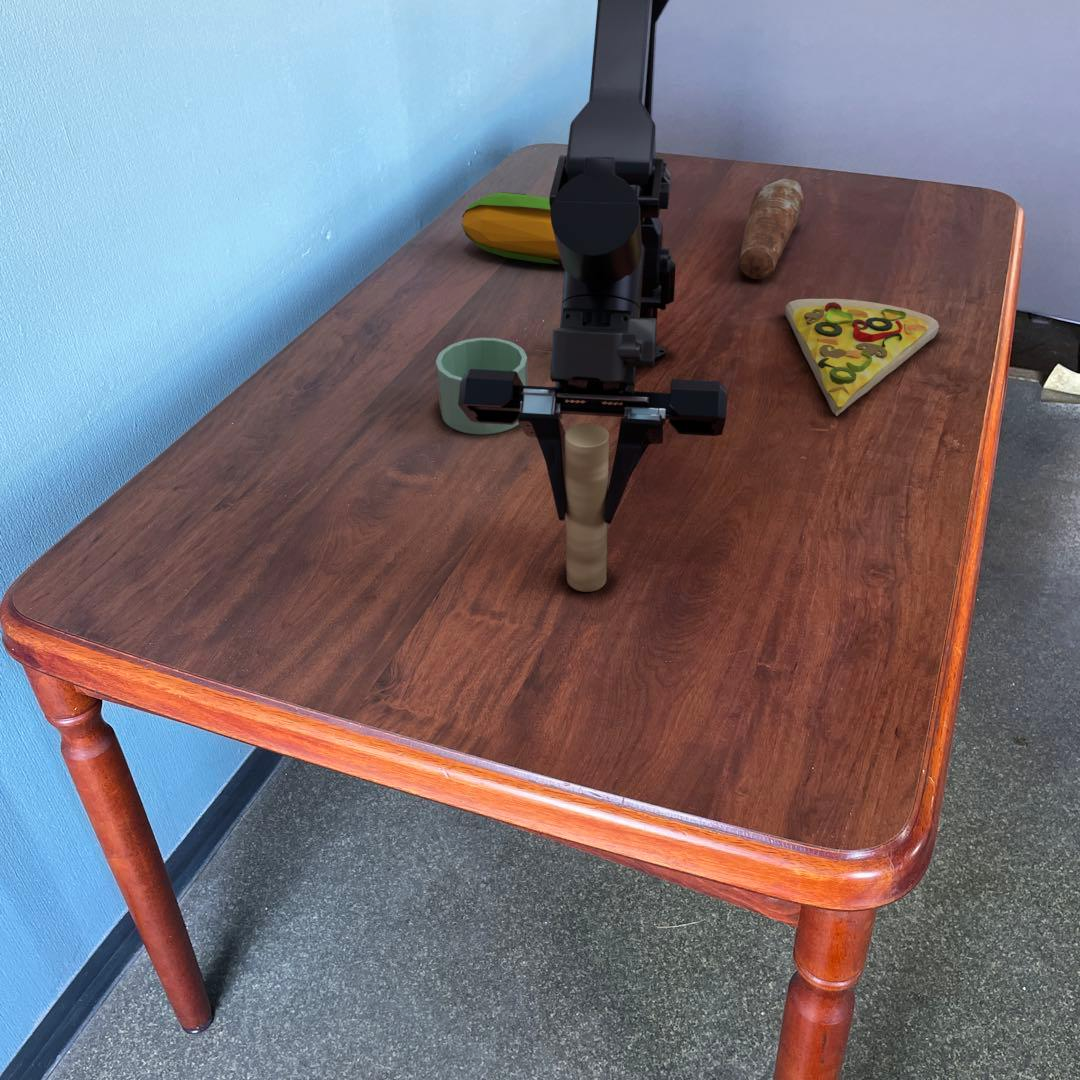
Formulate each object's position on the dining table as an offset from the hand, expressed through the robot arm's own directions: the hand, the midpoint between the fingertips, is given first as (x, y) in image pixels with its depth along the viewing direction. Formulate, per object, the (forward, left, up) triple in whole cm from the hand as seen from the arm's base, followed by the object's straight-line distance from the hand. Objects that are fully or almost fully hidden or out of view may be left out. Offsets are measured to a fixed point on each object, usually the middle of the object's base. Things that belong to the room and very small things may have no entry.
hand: (584, 521), depth 76 cm
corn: (-34, -50, -7) cm, 61 cm away
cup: (-9, -26, -7) cm, 28 cm away
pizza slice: (-42, -10, -7) cm, 44 cm away
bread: (-56, -34, -7) cm, 66 cm away
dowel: (-1, -1, -7) cm, 7 cm away
